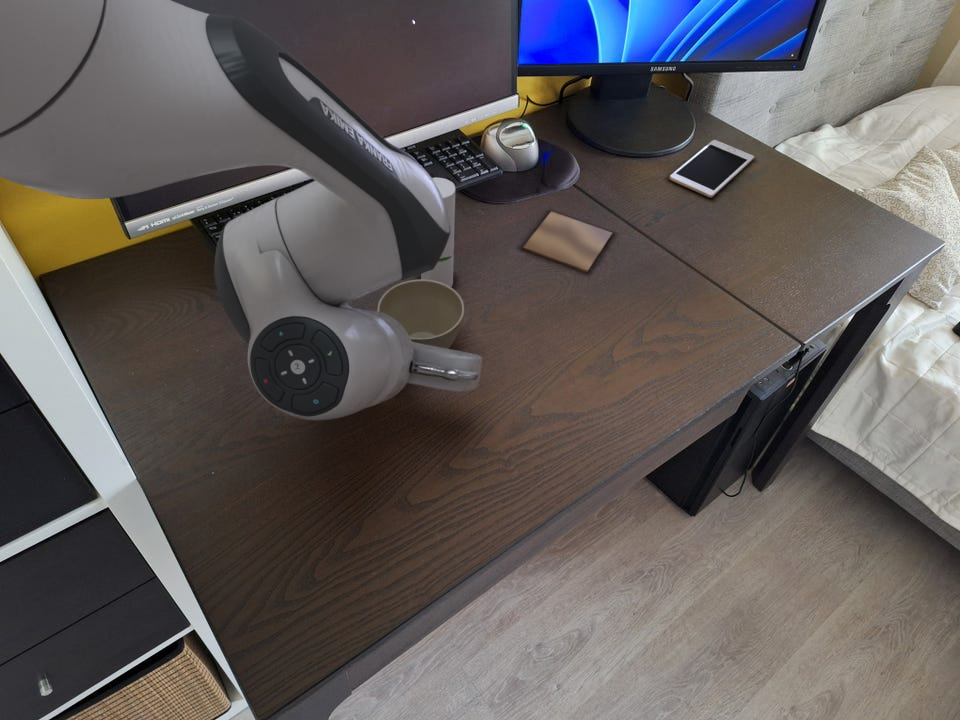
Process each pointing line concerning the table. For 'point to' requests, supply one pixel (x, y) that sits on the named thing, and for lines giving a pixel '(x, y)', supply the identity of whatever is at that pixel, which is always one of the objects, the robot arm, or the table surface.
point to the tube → (445, 263)
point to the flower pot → (425, 311)
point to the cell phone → (711, 168)
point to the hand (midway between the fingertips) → (399, 353)
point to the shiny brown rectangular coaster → (568, 241)
